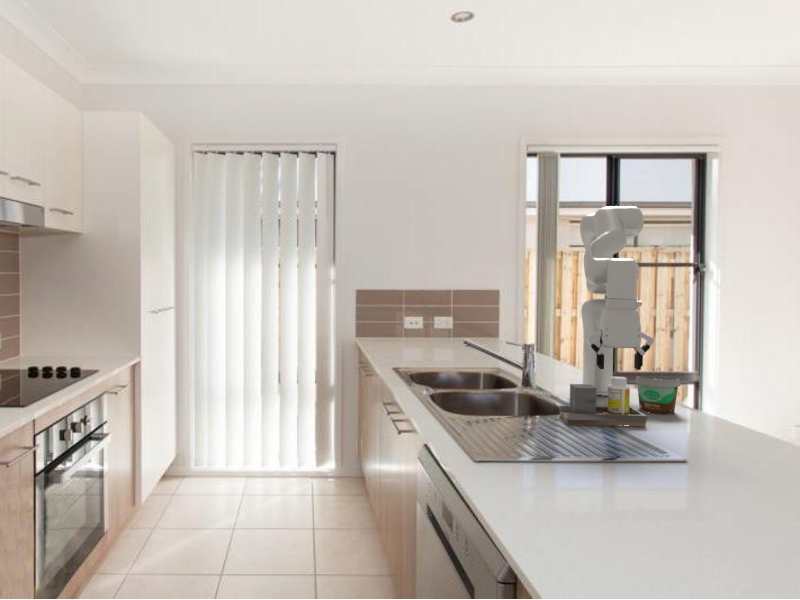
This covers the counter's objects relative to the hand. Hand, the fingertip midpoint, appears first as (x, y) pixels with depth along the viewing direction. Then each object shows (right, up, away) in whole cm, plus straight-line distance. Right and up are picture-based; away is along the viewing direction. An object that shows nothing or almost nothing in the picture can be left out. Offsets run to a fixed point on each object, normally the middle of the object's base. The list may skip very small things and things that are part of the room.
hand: (619, 368), depth 161 cm
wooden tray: (-5, -14, 0) cm, 15 cm away
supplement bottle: (0, -13, 0) cm, 13 cm away
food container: (+15, -14, +12) cm, 24 cm away
